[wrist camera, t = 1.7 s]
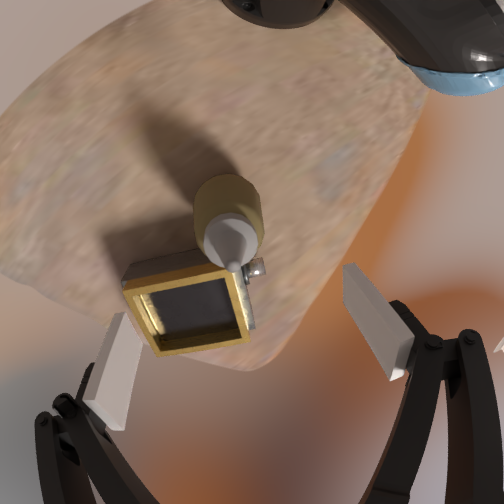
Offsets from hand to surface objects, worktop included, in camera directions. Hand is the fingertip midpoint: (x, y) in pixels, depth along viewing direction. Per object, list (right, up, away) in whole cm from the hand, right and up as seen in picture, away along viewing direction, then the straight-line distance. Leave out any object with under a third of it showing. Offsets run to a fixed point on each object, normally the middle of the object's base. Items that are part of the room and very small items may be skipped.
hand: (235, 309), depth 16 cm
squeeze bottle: (-2, +10, +21) cm, 23 cm away
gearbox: (-7, -2, +26) cm, 27 cm away
